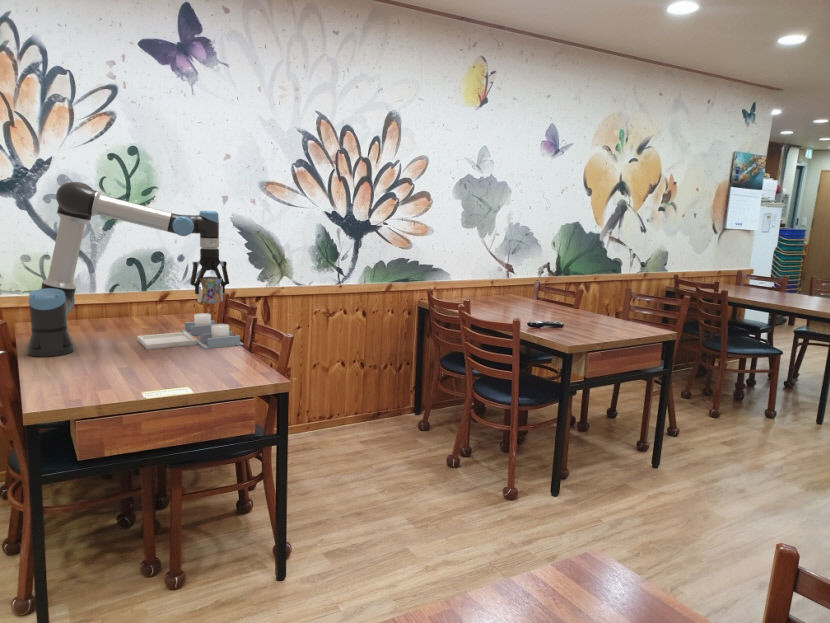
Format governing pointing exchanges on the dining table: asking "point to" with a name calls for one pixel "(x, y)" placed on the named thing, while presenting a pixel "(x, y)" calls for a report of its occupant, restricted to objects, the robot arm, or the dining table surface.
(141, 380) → the dining table surface
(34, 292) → the robot arm
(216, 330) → the white rounded egg
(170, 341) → the tray
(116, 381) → the dining table surface
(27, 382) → the dining table surface
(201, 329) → the rack
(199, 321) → the white glossy dome
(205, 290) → the mug
